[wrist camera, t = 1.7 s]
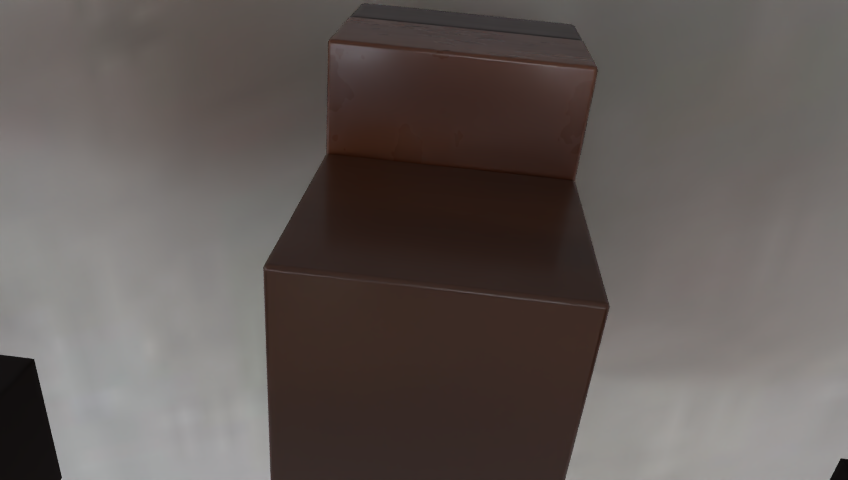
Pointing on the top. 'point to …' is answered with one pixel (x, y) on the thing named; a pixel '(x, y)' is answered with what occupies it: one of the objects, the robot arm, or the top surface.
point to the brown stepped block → (438, 258)
